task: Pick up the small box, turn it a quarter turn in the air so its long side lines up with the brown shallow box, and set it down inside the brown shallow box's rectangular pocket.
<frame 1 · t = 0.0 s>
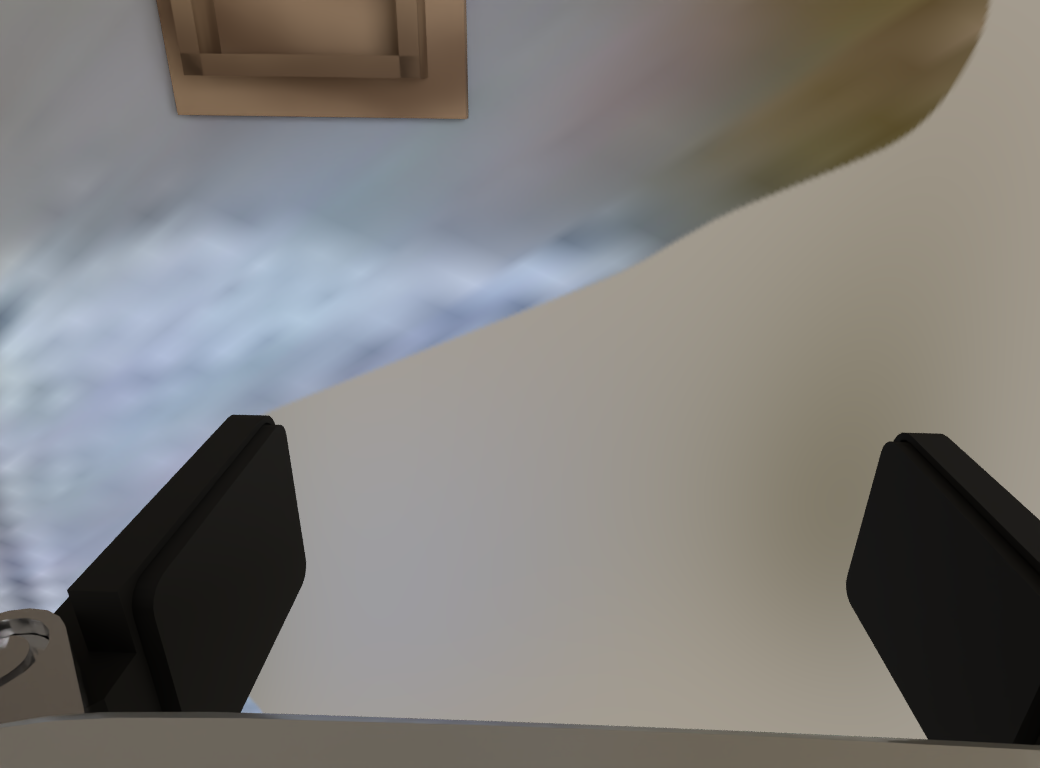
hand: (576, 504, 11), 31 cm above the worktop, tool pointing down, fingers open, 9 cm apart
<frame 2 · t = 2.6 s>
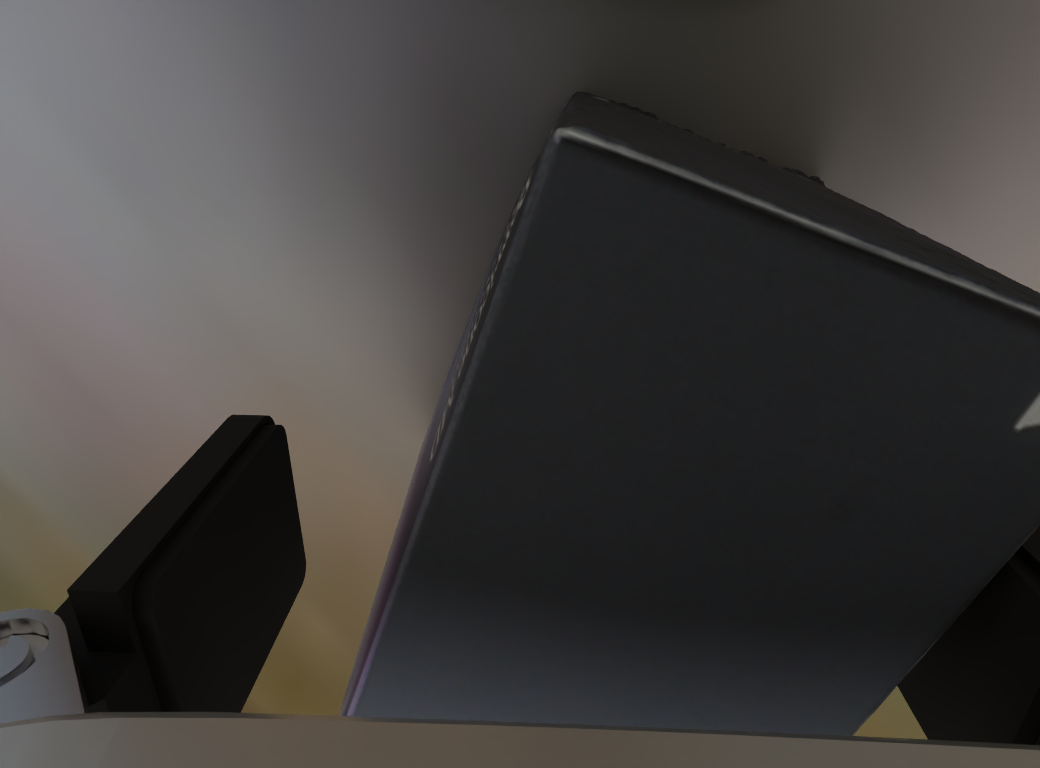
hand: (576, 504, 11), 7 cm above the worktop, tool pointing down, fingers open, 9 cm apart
small box: (603, 331, 17), on the worktop
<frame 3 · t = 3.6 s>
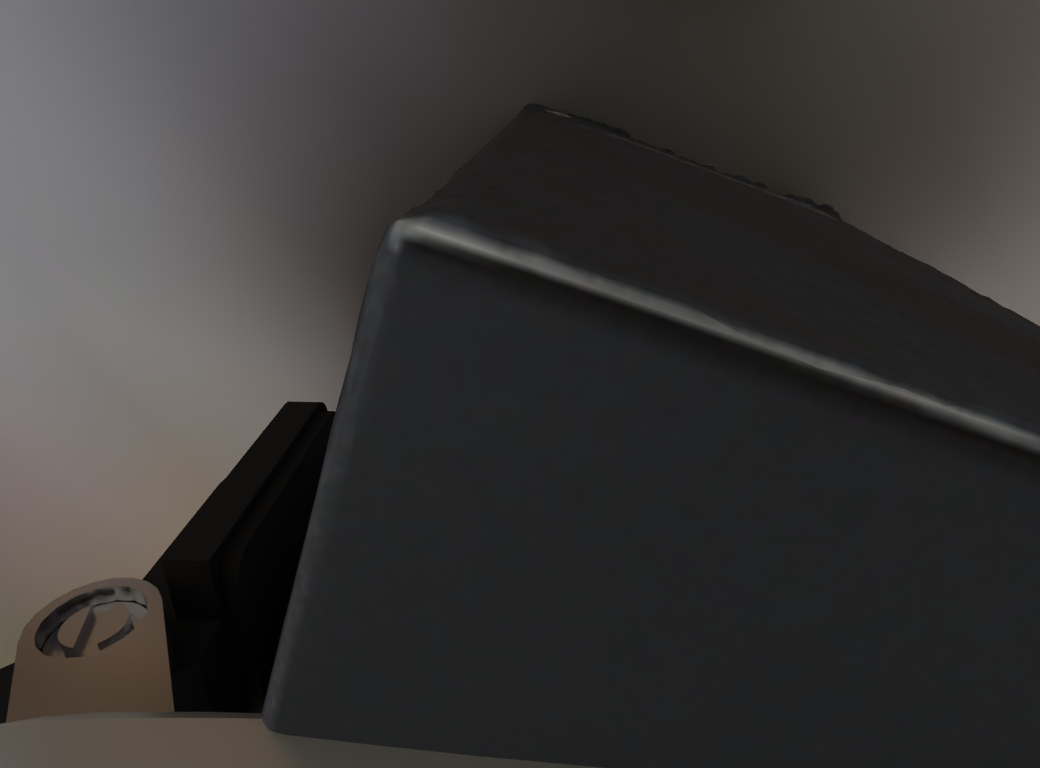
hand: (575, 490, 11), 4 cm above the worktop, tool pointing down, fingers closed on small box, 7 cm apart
small box: (571, 391, 14), on the worktop, touching gripper
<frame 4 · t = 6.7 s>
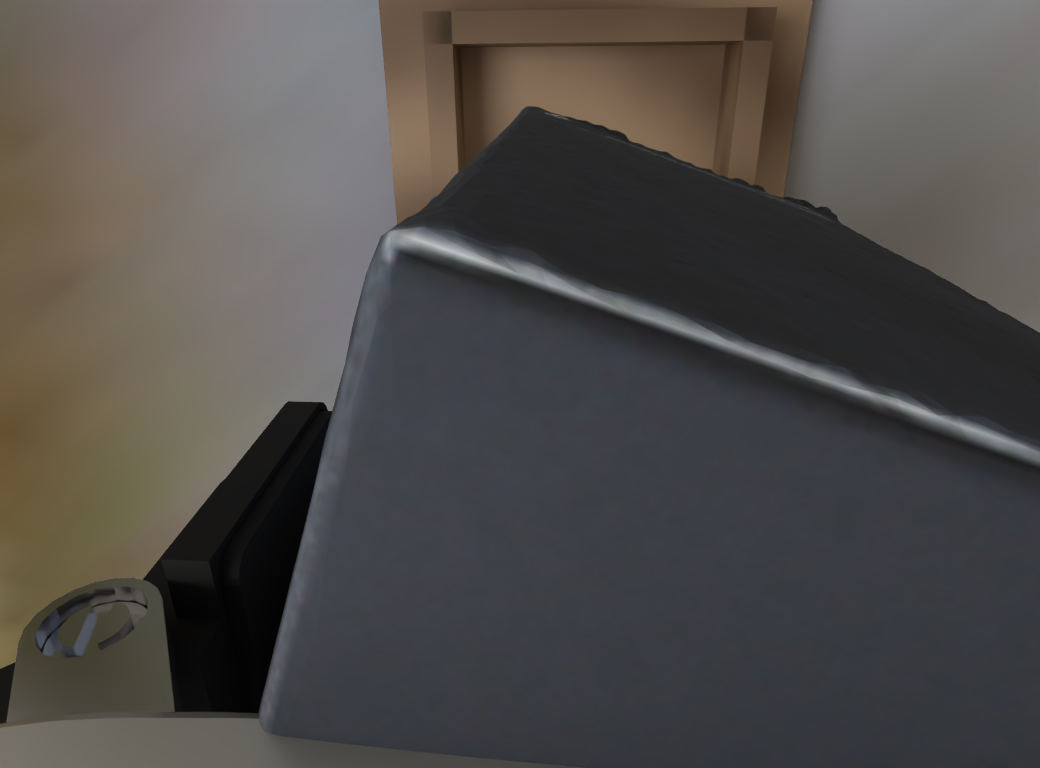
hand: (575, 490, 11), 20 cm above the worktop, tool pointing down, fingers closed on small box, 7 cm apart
small box: (570, 393, 14), point 16 cm above the worktop, touching gripper
brown shallow box: (585, 227, 29), on the worktop
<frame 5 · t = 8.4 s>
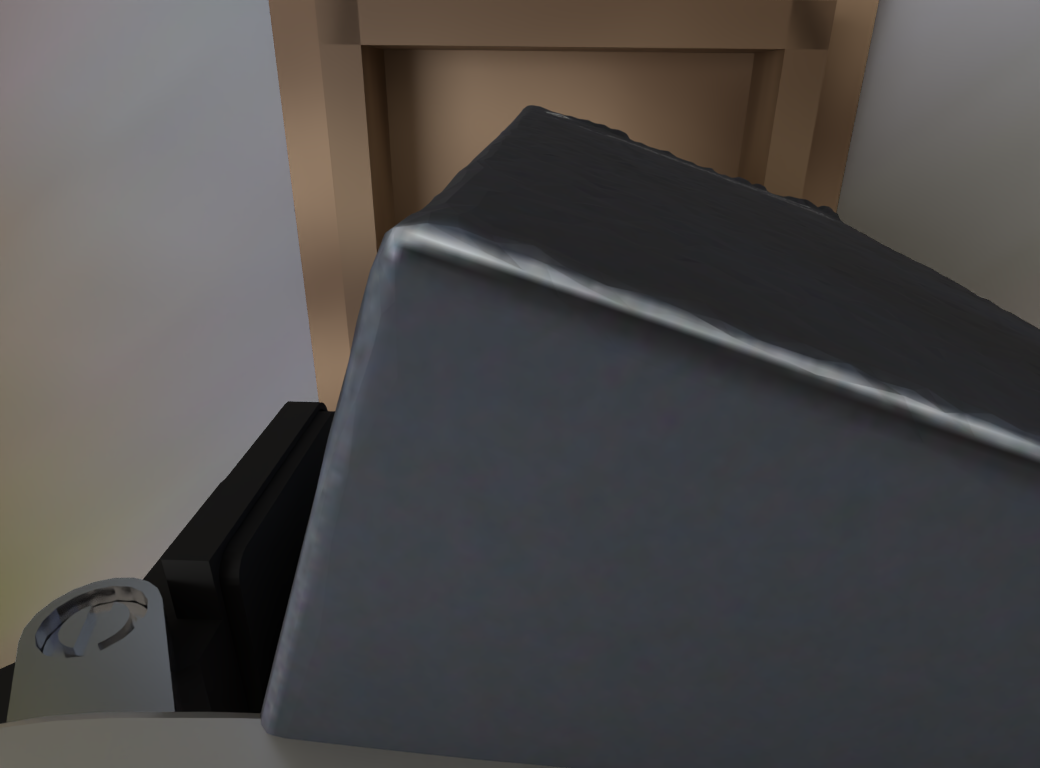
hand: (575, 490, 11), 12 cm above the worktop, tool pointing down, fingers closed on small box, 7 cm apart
small box: (571, 392, 14), point 8 cm above the worktop, touching gripper
brown shallow box: (558, 291, 22), on the worktop
when the fingers open (6 cm above the worktop, at t = 10.0 s): small box drops 2 cm, resting on brown shallow box.
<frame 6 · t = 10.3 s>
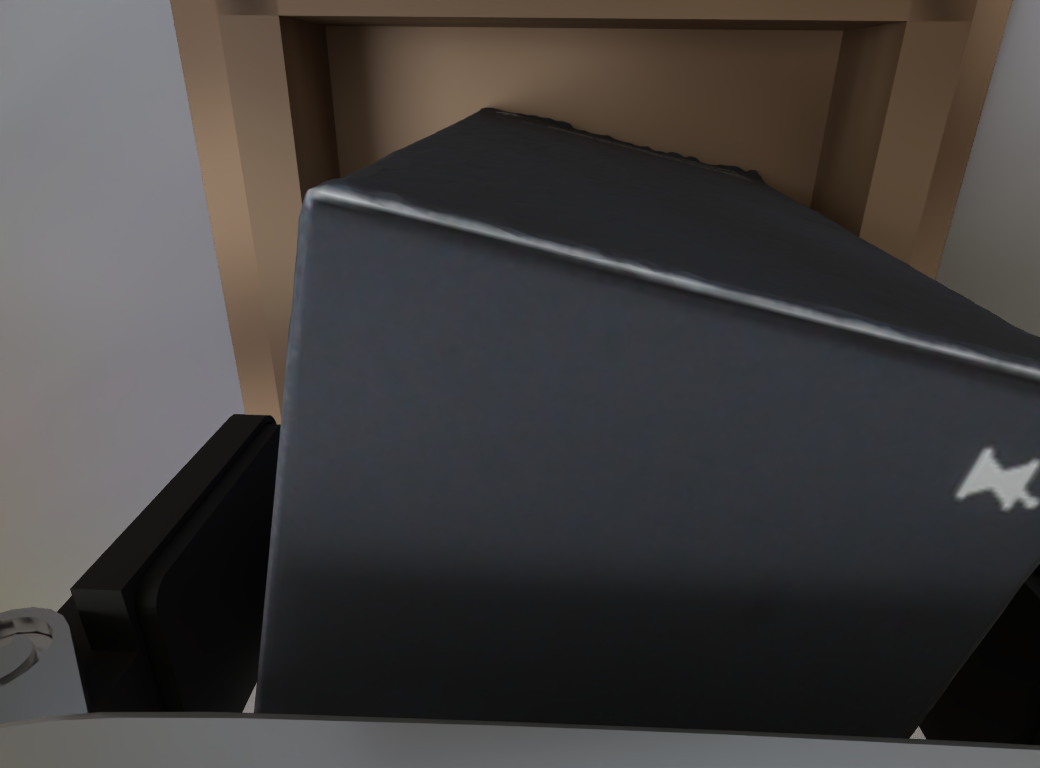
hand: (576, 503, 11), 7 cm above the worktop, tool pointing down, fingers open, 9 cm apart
small box: (550, 359, 16), point 1 cm above the worktop, touching brown shallow box
brown shallow box: (565, 346, 17), on the worktop
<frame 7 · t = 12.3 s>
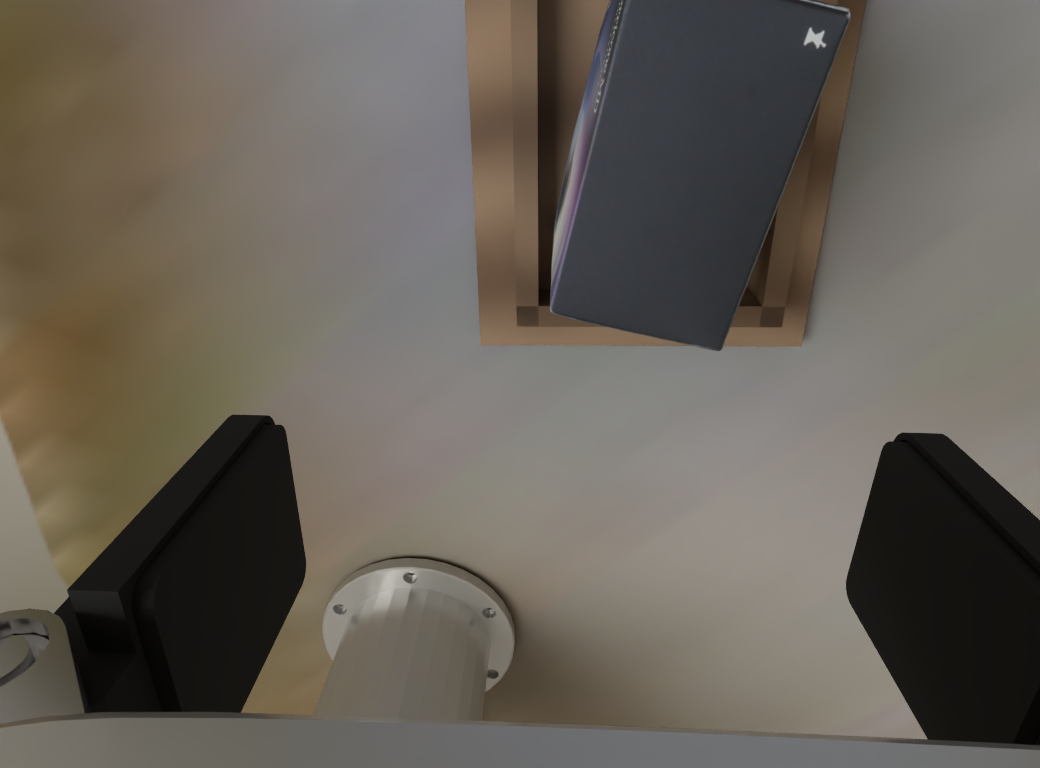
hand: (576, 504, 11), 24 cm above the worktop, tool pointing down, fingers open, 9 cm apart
small box: (644, 135, 29), point 1 cm above the worktop, touching brown shallow box
brown shallow box: (650, 132, 30), on the worktop
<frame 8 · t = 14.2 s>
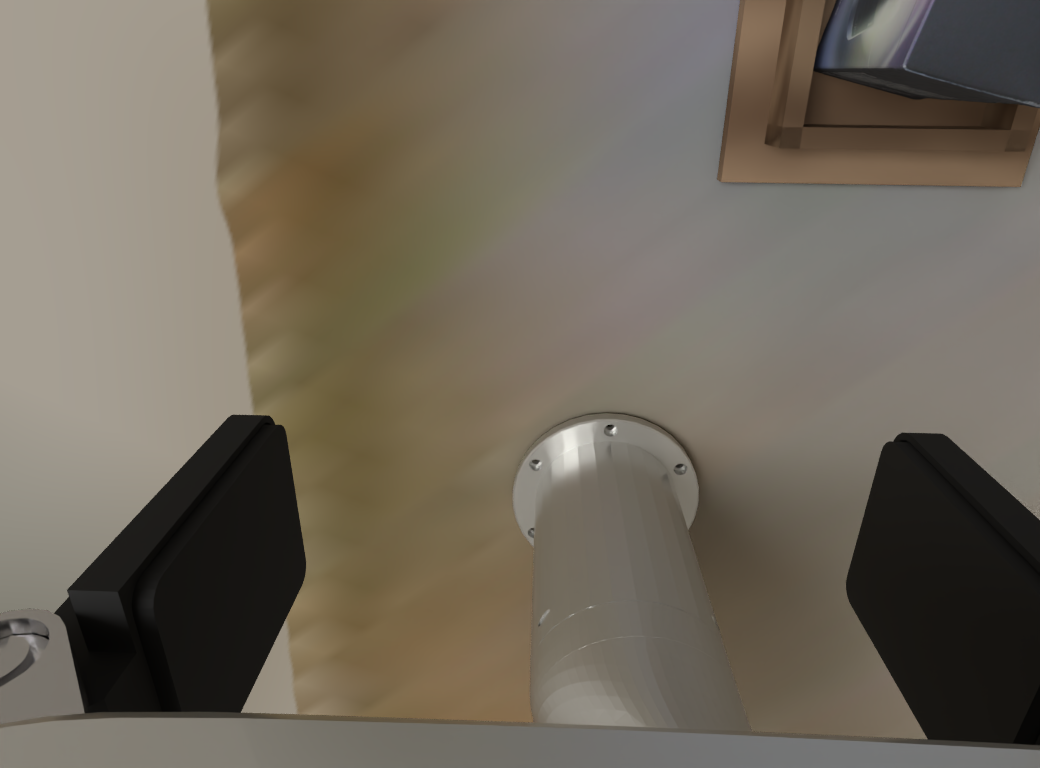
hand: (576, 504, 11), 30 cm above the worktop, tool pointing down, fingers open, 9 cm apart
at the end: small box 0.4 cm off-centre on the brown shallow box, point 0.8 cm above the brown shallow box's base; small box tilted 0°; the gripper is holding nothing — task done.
